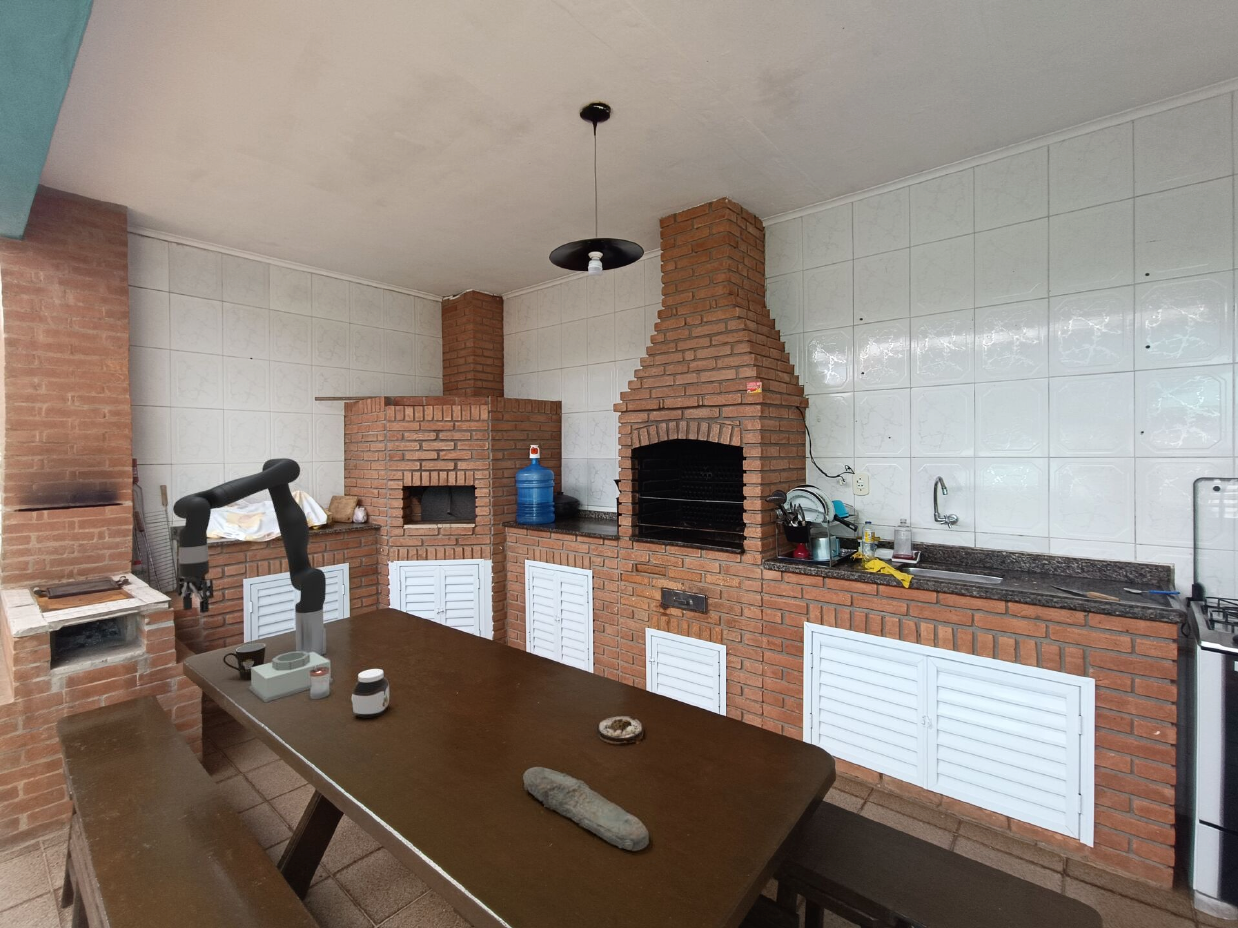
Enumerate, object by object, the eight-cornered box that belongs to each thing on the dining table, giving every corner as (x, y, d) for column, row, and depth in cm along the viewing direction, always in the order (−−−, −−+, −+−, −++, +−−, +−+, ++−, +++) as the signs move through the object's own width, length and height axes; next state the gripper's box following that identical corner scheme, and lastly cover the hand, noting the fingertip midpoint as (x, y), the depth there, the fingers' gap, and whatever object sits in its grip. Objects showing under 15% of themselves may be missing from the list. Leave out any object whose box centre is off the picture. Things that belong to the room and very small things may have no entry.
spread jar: (372, 721, 161) (371, 680, 161) (337, 718, 163) (336, 677, 163) (397, 703, 173) (396, 665, 173) (364, 700, 175) (363, 662, 175)
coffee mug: (272, 672, 198) (271, 643, 198) (253, 682, 189) (253, 652, 189) (241, 670, 199) (240, 642, 199) (221, 680, 191) (221, 651, 190)
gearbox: (319, 669, 200) (318, 642, 200) (337, 680, 190) (337, 652, 190) (249, 688, 184) (248, 659, 184) (265, 702, 174) (264, 671, 174)
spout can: (325, 690, 183) (324, 660, 182) (332, 694, 179) (331, 664, 179) (307, 695, 179) (307, 665, 178) (314, 700, 175) (313, 669, 175)
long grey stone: (627, 871, 105) (659, 846, 113) (629, 843, 105) (661, 819, 113) (509, 788, 128) (543, 771, 136) (511, 765, 128) (544, 749, 136)
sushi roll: (596, 751, 145) (596, 735, 145) (590, 724, 160) (590, 709, 160) (653, 746, 147) (652, 730, 147) (642, 720, 162) (641, 705, 162)
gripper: (220, 559, 180) (222, 610, 180) (193, 556, 185) (195, 605, 186) (195, 563, 173) (197, 616, 173) (167, 560, 179) (169, 611, 179)
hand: (196, 610), depth 180 cm, fingers open, 8 cm apart
